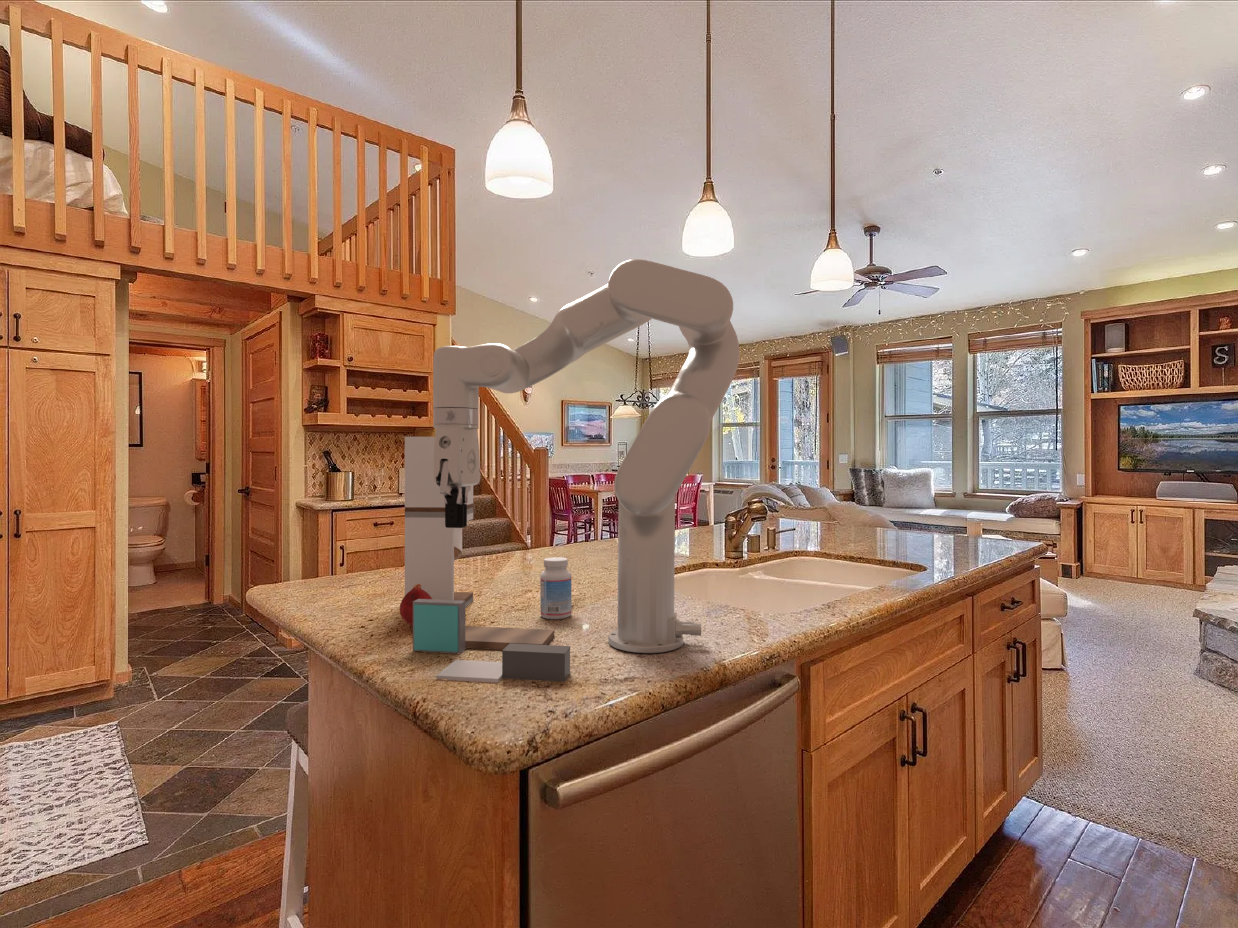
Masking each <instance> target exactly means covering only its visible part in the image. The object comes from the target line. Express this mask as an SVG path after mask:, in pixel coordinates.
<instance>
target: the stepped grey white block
mask: <svg viewBox="0 0 1238 928" xmlns="http://www.w3.org/2000/svg"><path fill="white" fill-rule="evenodd" d="M501 652H502V653H501V655H502V656H501V657H502V658H501V659H502V660H501V661H487V660H485V661H484V660H470V659H469V660H468V659H465V660H464V659H455V660H454V661H452V662H451V663H450V664H449V665H447V666H446V667H444V669H442V670H441V671H440V672H438V673H437V674H436V675H435V676H436V677H435V680H436V679H447V680H446V681H455V680H456V682H477V683H496V684H498V683H500V681H501V680H502V679H508V680H524V681H525V680H526V681H527V680H528V681H541V682H542V681H544V682H545V681H546V682H559V683H560V682H561V683H565V682H566V680H567V679H568V677H569V675H570V674H571V646H570V645H555V644H548V645H535V644H513V643H510V644H509V645H508V646H507V647H506V648H504V649H503V650H501Z"/></svg>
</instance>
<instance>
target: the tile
mask: <svg viewBox="0 0 1238 928" xmlns="http://www.w3.org/2000/svg"><path fill="white" fill-rule="evenodd" d="M465 626H466V609H465V601H461V600H434V599H417V600H415V601H413V626H412V652H414V651H423V652H422V653H435V652H440V653H441V652H442V654H456V653H461V654H462V653H463V652H465V651H466V648H465ZM464 650H465V651H464ZM424 651H425V652H424ZM440 653H439V654H440Z"/></svg>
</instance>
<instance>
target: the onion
mask: <svg viewBox="0 0 1238 928" xmlns="http://www.w3.org/2000/svg"><path fill="white" fill-rule="evenodd" d="M417 599H432V598H431V596H430V595H429V594H428V593H427V592H426V591H424V590H422V589H421V585H420V584H419V583H418V584H415V586H414V587H413V589H412V590H411V591H409V592H408V593H407V594H406V595H405V594H404V596H403V598H402V599H401V602H400V604H399V612H400V616H401V618H402V620H403V621H405V623H407V624H408V625H410V627H413V601H415V600H417Z"/></svg>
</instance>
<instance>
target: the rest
mask: <svg viewBox="0 0 1238 928" xmlns="http://www.w3.org/2000/svg"><path fill="white" fill-rule="evenodd" d="M554 638H555V629H548V628H547V629H546V628H545V629H544V628H541V629H540V628H522V627H521V628H520V627H518V628H517V627H501V626H500V627H497V626H496V627H495V626H474V625H473V626H470V625H465V649H477V650H498V651H500V650H501V651H502V650H503V649H504V648H506V647H507V646H508V645H509V644H510V643H513V644H535V645H550V643H551V642H552V640H553V639H554Z"/></svg>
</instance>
